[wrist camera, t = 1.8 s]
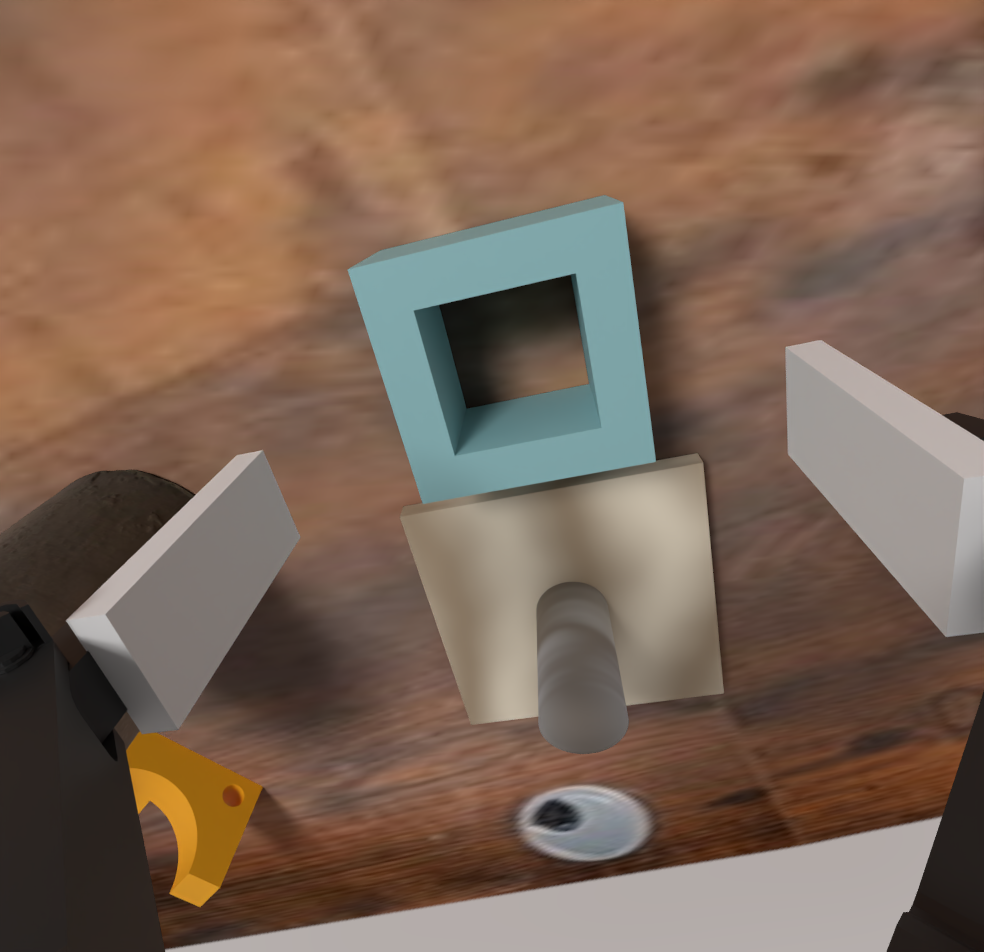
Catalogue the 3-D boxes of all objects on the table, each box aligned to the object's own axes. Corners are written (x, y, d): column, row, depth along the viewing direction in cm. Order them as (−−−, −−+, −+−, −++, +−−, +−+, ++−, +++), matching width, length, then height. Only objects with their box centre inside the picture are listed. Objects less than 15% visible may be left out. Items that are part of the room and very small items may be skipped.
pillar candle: (138, 432, 29) (-196, 662, 16) (279, 577, 32) (104, 867, 19) (13, 527, 32) (-360, 790, 18) (155, 650, 35) (-73, 949, 22)
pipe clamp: (65, 734, 39) (-15, 832, 33) (90, 696, 37) (10, 792, 32) (233, 816, 42) (186, 919, 36) (263, 784, 40) (220, 887, 34)
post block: (472, 710, 36) (458, 846, 29) (403, 506, 30) (364, 613, 23) (718, 679, 34) (769, 816, 27) (697, 453, 28) (755, 552, 21)
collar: (439, 450, 29) (423, 504, 24) (380, 250, 25) (347, 269, 20) (634, 413, 27) (656, 461, 23) (604, 195, 23) (623, 202, 19)
